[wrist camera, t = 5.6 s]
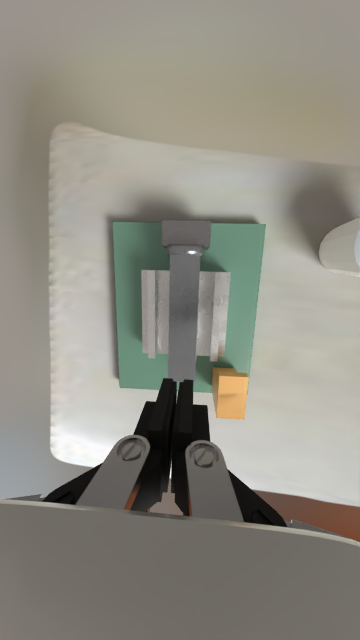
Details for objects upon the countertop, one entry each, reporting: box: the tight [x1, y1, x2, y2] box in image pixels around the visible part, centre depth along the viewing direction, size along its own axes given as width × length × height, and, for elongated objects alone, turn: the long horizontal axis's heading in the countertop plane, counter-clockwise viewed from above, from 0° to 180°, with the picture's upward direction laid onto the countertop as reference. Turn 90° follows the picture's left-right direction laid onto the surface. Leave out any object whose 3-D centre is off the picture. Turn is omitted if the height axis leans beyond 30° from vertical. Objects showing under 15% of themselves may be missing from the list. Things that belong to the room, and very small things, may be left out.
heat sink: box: [141, 220, 231, 361], centre depth 25 cm, size 10×15×4 cm, turn 179°
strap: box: [167, 244, 204, 382], centre depth 23 cm, size 15×4×1 cm, turn 179°
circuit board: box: [112, 222, 266, 393], centre depth 28 cm, size 18×22×2 cm
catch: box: [212, 367, 249, 419], centre depth 26 cm, size 3×5×6 cm, turn 178°
